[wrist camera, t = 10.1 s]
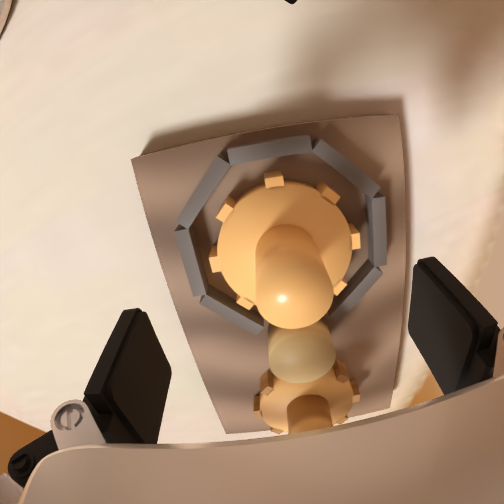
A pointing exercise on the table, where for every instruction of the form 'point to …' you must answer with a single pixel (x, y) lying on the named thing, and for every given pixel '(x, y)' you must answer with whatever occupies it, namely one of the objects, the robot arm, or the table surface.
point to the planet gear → (285, 249)
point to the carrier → (251, 321)
